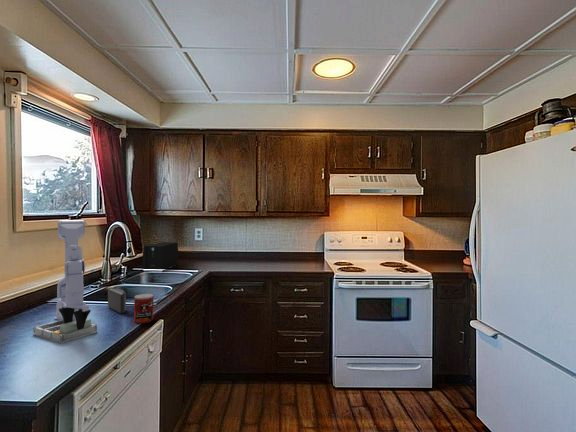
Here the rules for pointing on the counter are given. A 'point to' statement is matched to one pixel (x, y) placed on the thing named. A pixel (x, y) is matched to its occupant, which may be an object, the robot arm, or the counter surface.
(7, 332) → the counter surface
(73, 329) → the pale green rectangular box
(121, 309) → the leaning round-cornered charcoal block
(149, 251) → the uninterruptible power supply
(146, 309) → the canned food
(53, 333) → the rack
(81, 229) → the robot arm
